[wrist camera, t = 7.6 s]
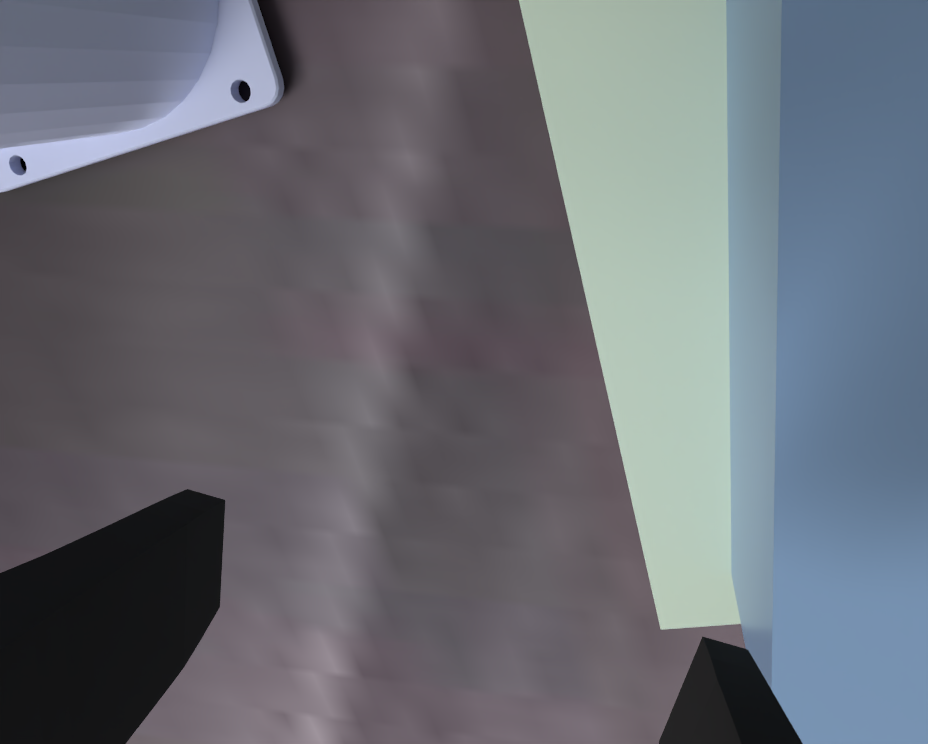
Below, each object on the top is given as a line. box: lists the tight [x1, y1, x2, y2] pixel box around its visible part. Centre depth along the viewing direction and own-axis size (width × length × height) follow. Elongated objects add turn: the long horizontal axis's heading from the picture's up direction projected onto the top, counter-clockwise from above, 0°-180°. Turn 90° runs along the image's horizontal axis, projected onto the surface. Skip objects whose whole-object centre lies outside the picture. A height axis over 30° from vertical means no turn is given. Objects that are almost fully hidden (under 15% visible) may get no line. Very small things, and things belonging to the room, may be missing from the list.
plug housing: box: [726, 0, 928, 744], centre depth 14 cm, size 5×14×6 cm, turn 8°
